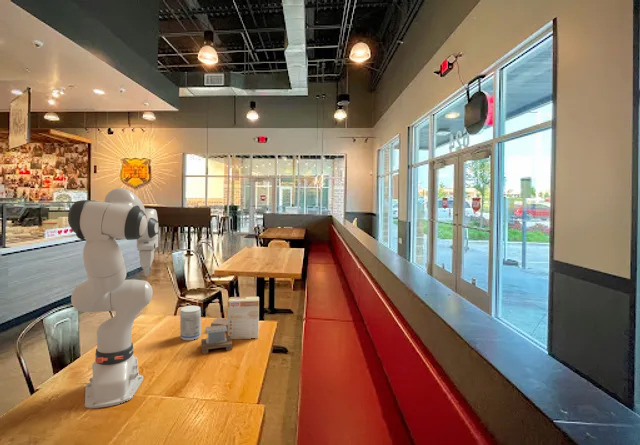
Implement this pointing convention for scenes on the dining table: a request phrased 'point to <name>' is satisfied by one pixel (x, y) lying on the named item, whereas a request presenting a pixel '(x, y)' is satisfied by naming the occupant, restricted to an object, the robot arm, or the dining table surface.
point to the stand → (216, 345)
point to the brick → (220, 322)
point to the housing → (216, 334)
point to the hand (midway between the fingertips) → (148, 273)
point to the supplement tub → (190, 322)
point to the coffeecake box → (243, 317)
